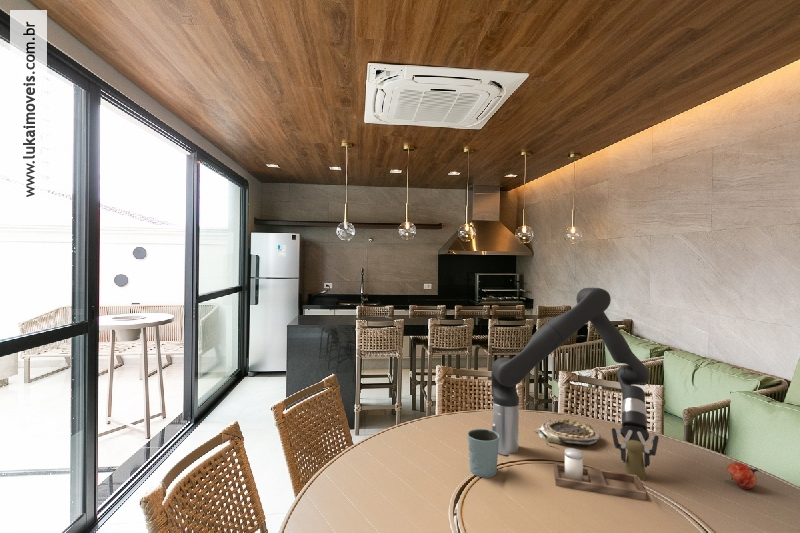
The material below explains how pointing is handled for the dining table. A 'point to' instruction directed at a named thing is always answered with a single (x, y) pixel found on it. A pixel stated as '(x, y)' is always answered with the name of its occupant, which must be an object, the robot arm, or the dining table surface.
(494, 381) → the robot arm
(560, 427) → the pie
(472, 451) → the teal cup
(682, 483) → the dining table surface
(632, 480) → the cruet caddy
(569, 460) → the salt shaker
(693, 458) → the dining table surface
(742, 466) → the pomegranate
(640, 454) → the olive mushroom knob
